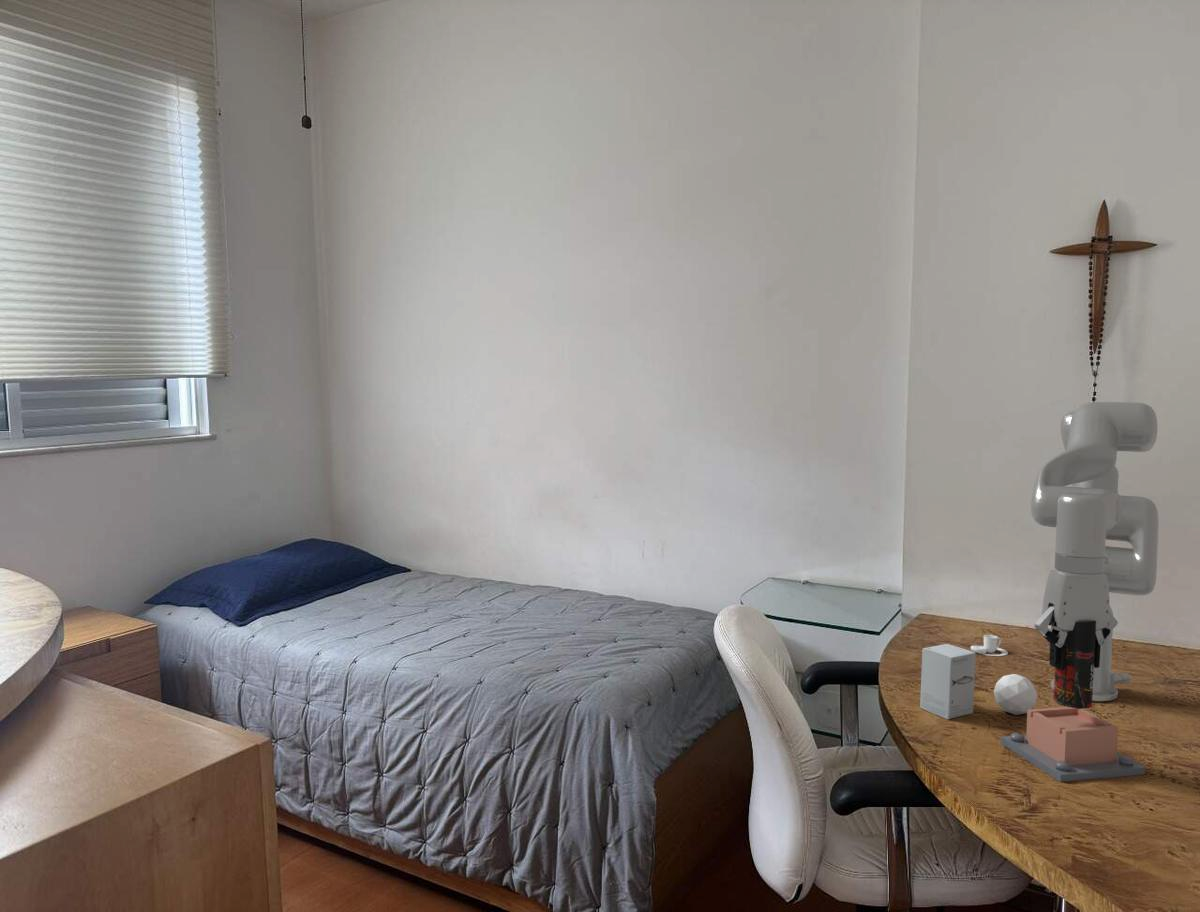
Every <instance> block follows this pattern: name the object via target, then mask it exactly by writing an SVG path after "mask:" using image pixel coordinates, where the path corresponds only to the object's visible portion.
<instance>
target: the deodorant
mask: <svg viewBox="0 0 1200 912" xmlns="http://www.w3.org/2000/svg"><path fill="white" fill-rule="evenodd" d="M1059 632H1060V631H1058V633H1057V636H1056V637H1058V634H1059ZM1095 637H1096V621H1088V622H1075V625H1074V628H1073V630H1072V631H1068V634H1067V636H1066V639H1065V641H1064V644H1063V647H1065V648H1066V662H1065V669H1064V670H1060V669H1057V668H1055V667H1054V678H1055V680H1054V690H1053V702H1055V703H1056V704H1057V705H1061V706H1062V707H1071V708H1080V709H1084V710H1085V709H1089V708H1091V707H1092V706H1093V701H1092V696H1093V676H1094V656H1095Z"/></svg>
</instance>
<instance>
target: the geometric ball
mask: <svg viewBox="0 0 1200 912" xmlns="http://www.w3.org/2000/svg"><path fill="white" fill-rule="evenodd" d="M993 695H994V699H995V702H996V704H997V705H998V707H1000V708H1001V710H1002V711H1004V712H1006V713H1008V714H1012V715H1014V716H1017V715H1022V714H1023V715H1024V714H1027V710H1029V709H1034V707H1035V706H1036V701H1037V698H1038V694H1037V691H1036V688H1035V685H1034V684H1033V683H1032V682H1031V681H1030V680H1029V679H1028V678H1027V677H1025V676H1022V675H1019V674H1017V673H1011V674H1006V675H1003V676H1002V677H1000V678H999V680H998V681H996V683H995V686H994V689H993Z"/></svg>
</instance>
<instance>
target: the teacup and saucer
mask: <svg viewBox="0 0 1200 912" xmlns="http://www.w3.org/2000/svg"><path fill="white" fill-rule="evenodd" d="M998 641H999V642H998ZM1001 644H1002V639H1001V638H1000V637H998V636H997V635H993V634H984V635H983V645H971V646H970V651H972V652H975V653H976V654H980V655H983V656H988V657H1005V656H1007V655H1008V654H1009V652H1008V650H1006V649H1004V648H1001V647H1000V645H1001ZM996 650H997V651H999V652H1001V653H1000V654H993V653H995V652H996ZM990 653H991V654H990Z"/></svg>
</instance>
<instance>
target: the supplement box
mask: <svg viewBox="0 0 1200 912" xmlns="http://www.w3.org/2000/svg"><path fill="white" fill-rule="evenodd" d="M921 650H922V651H921V654H922V655H921V672H920V673H921V674H920V677H921V678H920V696H919V697H920V699H919V702H920V703H919V705H920V706H919V708H920V709H921V710H924V711H926V712H929V713H931V714H933V715H936V716H938V717H939V718H940V717H941V718H942V719H945V720H947V721H948V720H951V719H953V718H958V717H962V716H966V715H972V714H973V713H974V704H975V703H974V702H975V701H974V700H975V683H976V682H975V678H976V655H977V653H976V652H974V651H972V650H968V649H965V648H962V647H958V646H956V645H952V644H950V643H944V644H939V645H934V646H933V645H932V646H929V647H924V648H922V649H921Z"/></svg>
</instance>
